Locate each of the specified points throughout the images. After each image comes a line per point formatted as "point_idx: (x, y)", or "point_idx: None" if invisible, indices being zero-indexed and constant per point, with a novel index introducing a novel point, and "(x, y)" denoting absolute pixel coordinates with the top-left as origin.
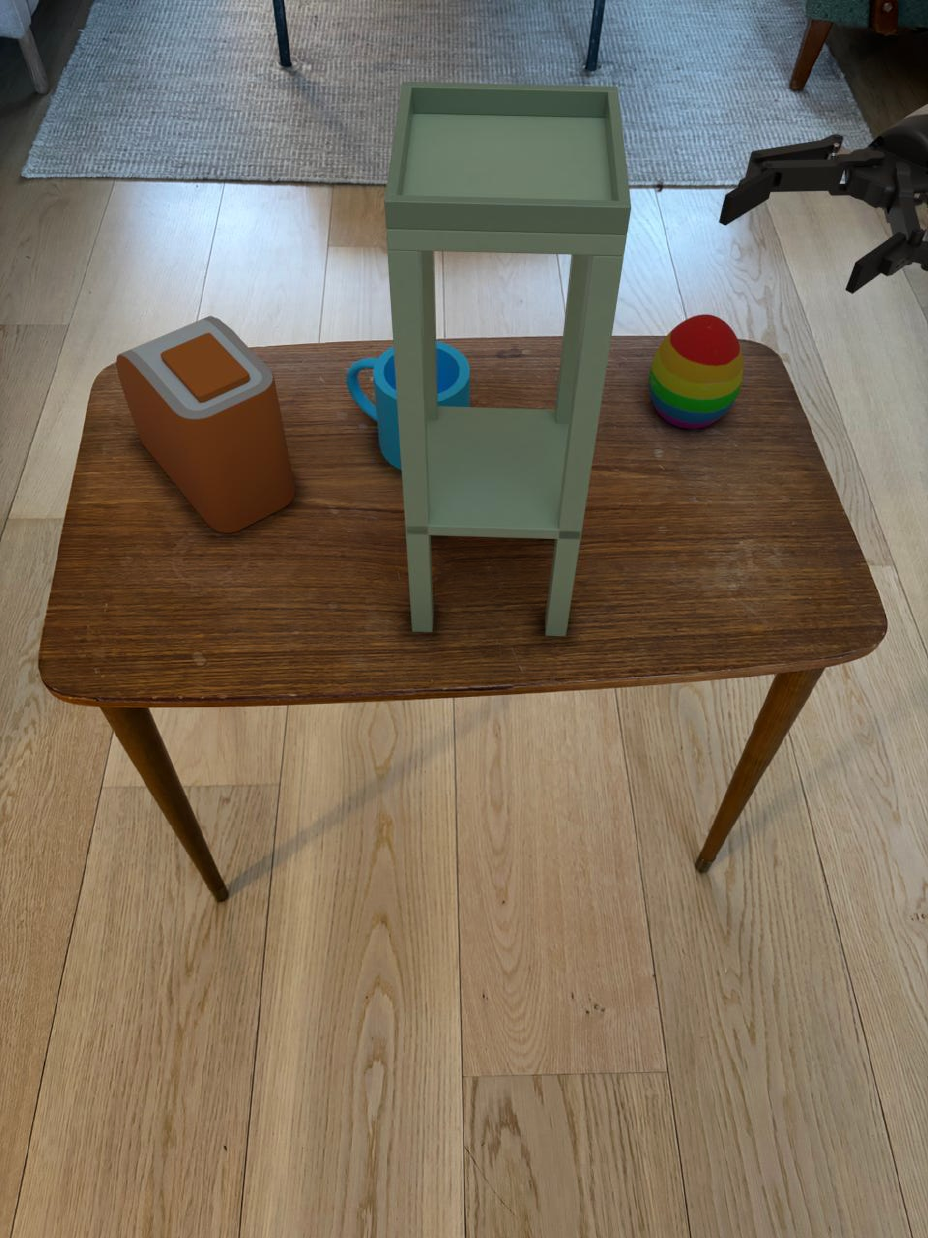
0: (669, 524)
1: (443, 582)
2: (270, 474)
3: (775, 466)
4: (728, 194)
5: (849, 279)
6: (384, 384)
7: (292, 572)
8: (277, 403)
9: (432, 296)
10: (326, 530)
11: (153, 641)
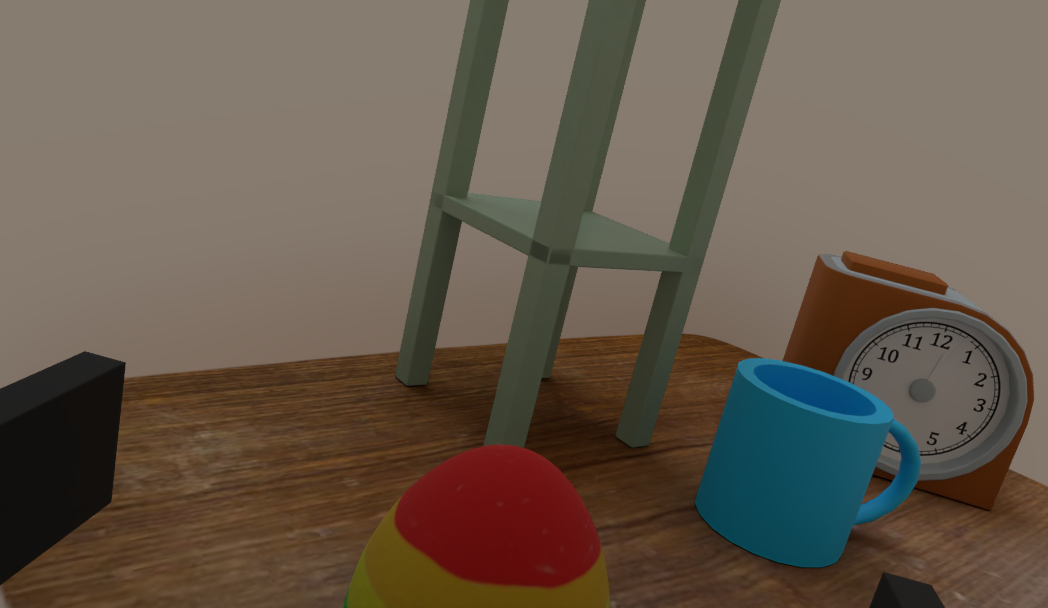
0: (343, 490)
1: (555, 401)
2: None
3: None
4: (925, 593)
5: (114, 446)
6: (815, 372)
7: (682, 394)
8: (826, 303)
9: (720, 65)
10: (708, 423)
11: (696, 353)
